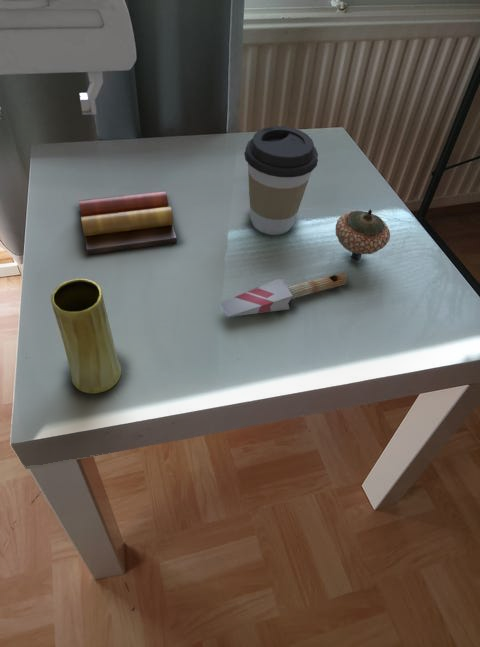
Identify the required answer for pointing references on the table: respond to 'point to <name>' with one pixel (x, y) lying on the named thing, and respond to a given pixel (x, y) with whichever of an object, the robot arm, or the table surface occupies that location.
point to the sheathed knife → (277, 295)
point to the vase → (86, 335)
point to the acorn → (362, 233)
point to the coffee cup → (278, 176)
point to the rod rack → (127, 222)
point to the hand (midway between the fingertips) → (43, 115)
